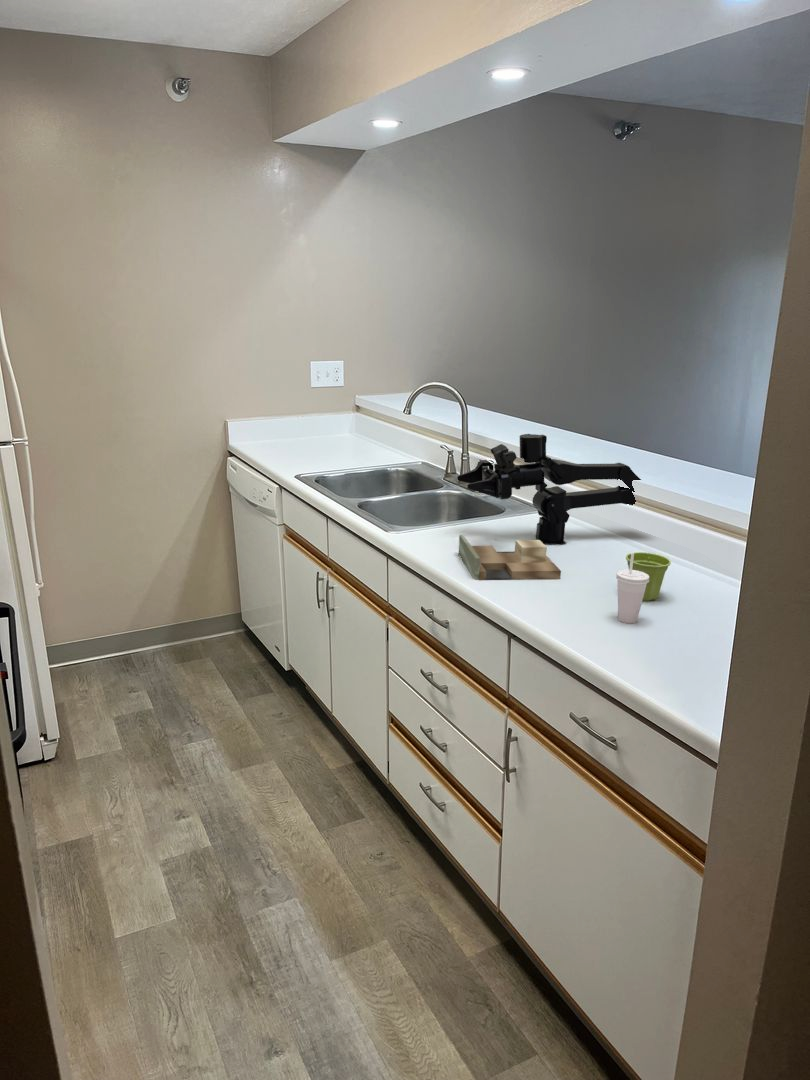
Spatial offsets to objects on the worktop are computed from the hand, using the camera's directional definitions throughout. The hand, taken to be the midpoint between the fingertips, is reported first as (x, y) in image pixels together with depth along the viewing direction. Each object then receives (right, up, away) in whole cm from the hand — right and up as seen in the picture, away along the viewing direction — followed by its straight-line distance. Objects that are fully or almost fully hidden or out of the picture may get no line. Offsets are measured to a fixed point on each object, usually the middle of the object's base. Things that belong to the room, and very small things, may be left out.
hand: (462, 482), depth 205 cm
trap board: (+10, -21, -11) cm, 26 cm away
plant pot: (+38, -27, -29) cm, 54 cm away
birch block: (+15, -19, -11) cm, 27 cm away
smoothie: (+30, -31, -42) cm, 60 cm away
